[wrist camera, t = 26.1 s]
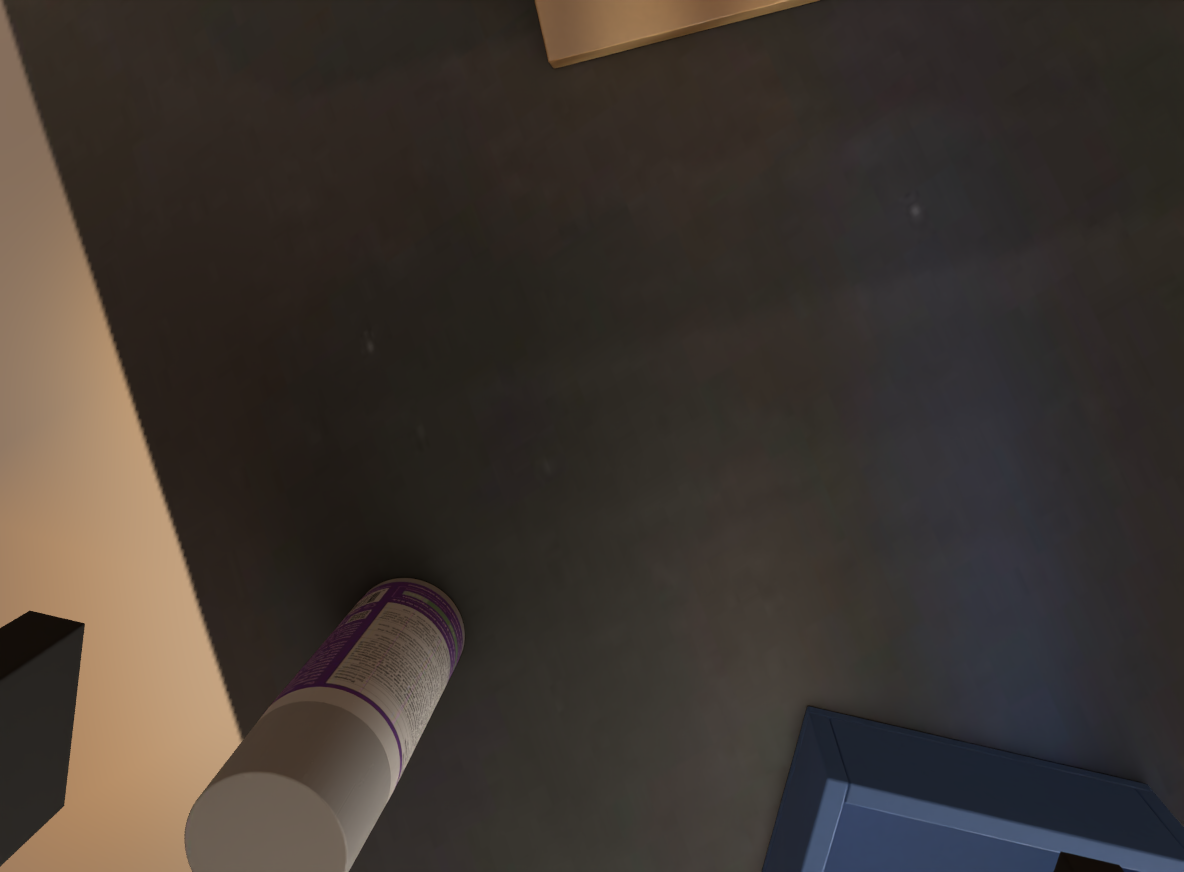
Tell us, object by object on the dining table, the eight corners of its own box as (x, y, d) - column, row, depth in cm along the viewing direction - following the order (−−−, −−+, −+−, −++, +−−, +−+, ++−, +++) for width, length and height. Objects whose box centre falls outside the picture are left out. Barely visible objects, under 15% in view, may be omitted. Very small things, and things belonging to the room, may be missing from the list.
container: (360, 690, 43) (196, 931, 28) (343, 581, 42) (163, 773, 27) (472, 682, 42) (364, 923, 28) (457, 572, 41) (337, 761, 27)
